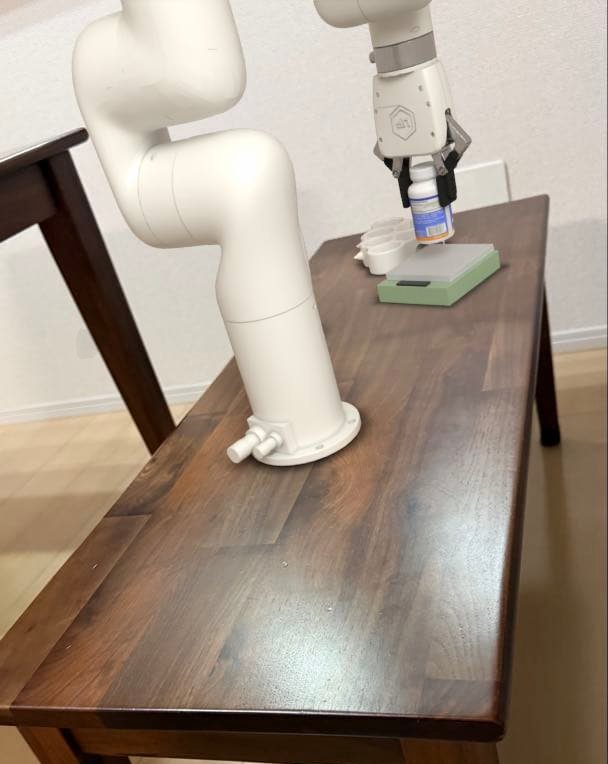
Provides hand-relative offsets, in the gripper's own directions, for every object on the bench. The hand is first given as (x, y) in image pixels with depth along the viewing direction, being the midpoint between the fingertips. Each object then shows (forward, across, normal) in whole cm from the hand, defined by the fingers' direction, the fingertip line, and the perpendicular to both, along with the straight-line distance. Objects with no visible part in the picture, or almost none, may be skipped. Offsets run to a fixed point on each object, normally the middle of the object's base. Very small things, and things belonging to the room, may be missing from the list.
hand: (429, 202), depth 114 cm
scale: (+11, 0, 0) cm, 11 cm away
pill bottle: (+5, 0, 0) cm, 5 cm away
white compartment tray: (+11, -16, +11) cm, 22 cm away
